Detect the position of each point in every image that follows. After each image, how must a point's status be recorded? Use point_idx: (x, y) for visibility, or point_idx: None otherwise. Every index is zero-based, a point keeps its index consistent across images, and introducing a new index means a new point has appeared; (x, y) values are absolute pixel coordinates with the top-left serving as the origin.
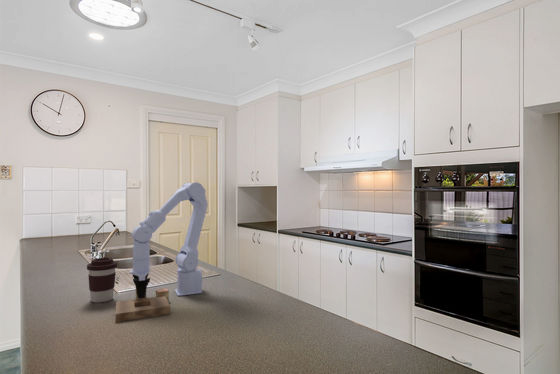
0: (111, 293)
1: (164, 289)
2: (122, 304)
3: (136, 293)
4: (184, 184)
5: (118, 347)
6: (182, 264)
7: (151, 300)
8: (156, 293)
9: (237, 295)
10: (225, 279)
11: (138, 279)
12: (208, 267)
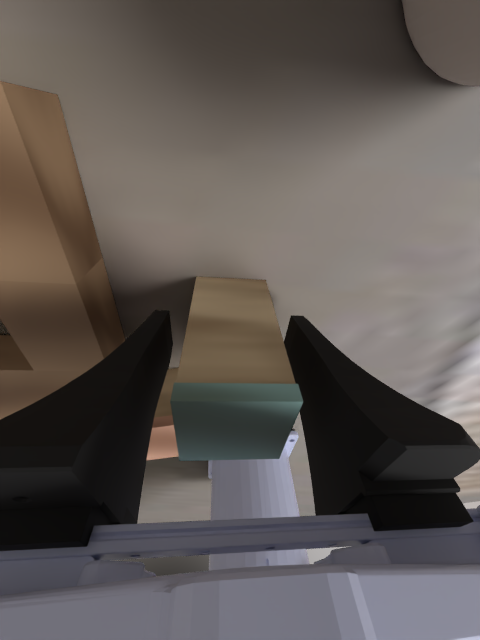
0: (465, 35)
1: (167, 451)
2: None
3: (188, 321)
4: None
5: None
6: None
7: (40, 376)
8: (168, 407)
9: (149, 508)
10: (313, 506)
11: (20, 506)
12: (474, 497)
